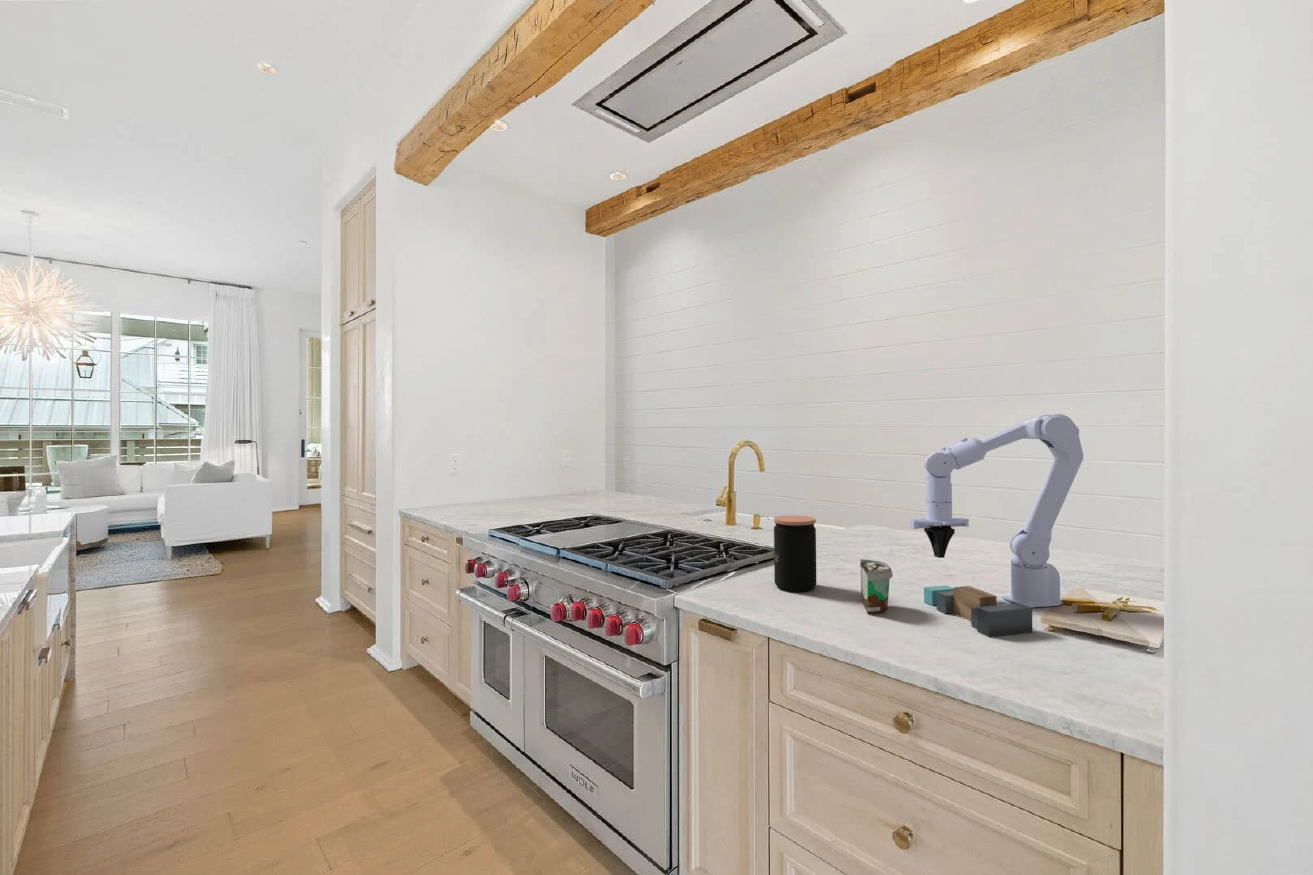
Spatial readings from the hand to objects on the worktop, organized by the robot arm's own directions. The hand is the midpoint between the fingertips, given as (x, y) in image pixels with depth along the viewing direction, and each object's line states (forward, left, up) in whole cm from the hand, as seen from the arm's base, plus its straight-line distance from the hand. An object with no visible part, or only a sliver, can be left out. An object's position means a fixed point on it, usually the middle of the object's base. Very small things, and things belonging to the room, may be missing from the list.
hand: (939, 556), depth 144 cm
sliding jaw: (+4, +8, -9) cm, 13 cm away
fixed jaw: (+4, +24, -9) cm, 26 cm away
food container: (+20, +6, -10) cm, 23 cm away
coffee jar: (+31, -15, -10) cm, 36 cm away
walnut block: (+4, +17, -10) cm, 20 cm away
